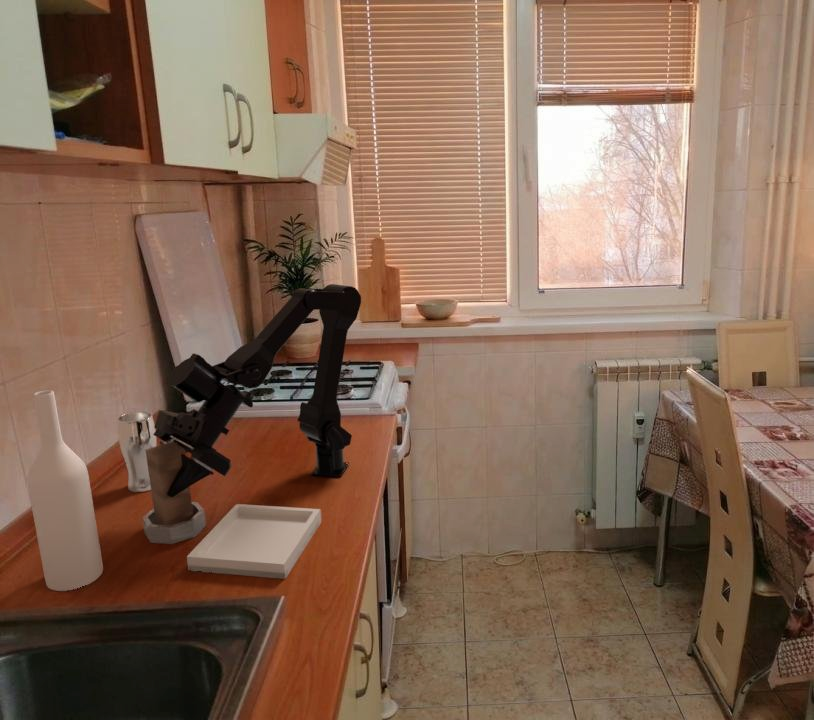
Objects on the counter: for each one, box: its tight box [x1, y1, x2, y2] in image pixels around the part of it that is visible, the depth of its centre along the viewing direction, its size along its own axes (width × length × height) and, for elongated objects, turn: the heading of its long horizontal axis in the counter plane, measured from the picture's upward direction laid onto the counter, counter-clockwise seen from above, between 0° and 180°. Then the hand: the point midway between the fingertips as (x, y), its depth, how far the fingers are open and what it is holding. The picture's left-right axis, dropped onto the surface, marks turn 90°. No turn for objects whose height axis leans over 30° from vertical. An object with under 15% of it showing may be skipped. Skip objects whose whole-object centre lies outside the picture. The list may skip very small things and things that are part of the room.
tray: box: [186, 503, 322, 580], centre depth 109 cm, size 18×16×2 cm
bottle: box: [26, 389, 104, 592], centre depth 98 cm, size 8×8×30 cm
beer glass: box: [116, 410, 158, 493], centre depth 132 cm, size 7×7×15 cm
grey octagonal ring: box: [142, 501, 207, 545], centre depth 115 cm, size 10×10×3 cm
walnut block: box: [146, 442, 193, 526], centre depth 114 cm, size 5×5×15 cm
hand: (162, 491), depth 113 cm, fingers closed on walnut block, 5 cm apart
